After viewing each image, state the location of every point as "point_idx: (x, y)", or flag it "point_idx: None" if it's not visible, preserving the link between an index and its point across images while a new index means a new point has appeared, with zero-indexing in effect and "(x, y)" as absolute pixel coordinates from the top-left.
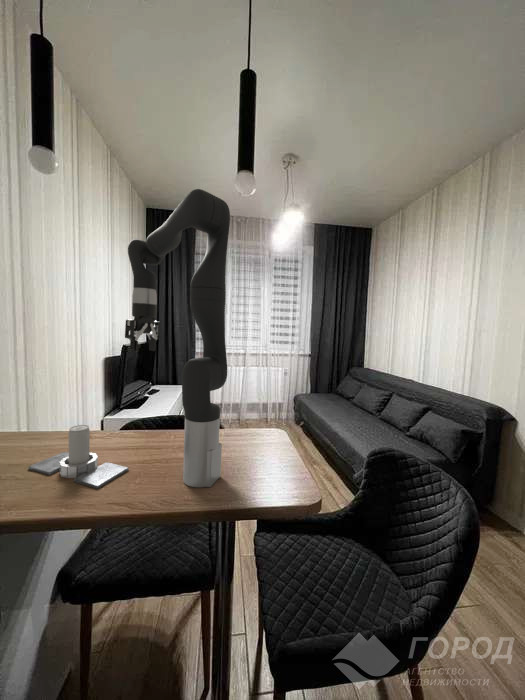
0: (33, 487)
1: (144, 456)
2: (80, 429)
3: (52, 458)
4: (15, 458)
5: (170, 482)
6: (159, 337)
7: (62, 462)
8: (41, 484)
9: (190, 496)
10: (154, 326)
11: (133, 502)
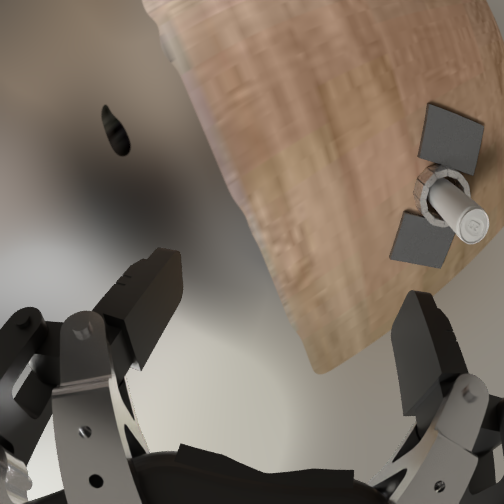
0: None
1: (368, 99)
2: (481, 218)
3: (415, 257)
4: None
5: (437, 16)
6: (32, 314)
7: None
8: None
9: None
10: (14, 472)
11: (492, 58)
